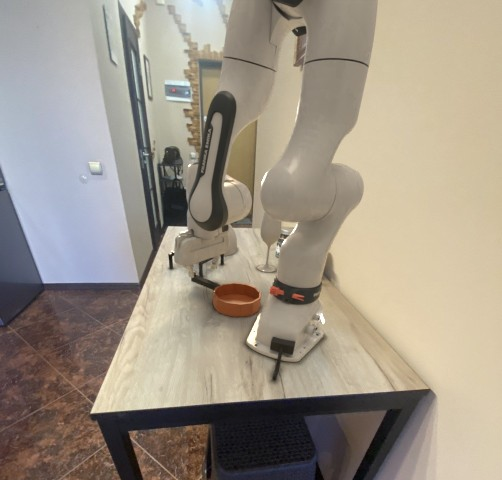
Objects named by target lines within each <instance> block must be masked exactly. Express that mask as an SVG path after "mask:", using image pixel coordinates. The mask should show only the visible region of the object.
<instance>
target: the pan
mask: <svg viewBox="0 0 502 480" xmlns="http://www.w3.org/2000/svg"><path fill="white" fill-rule="evenodd" d="M190 282H192V283H195V284H197V285H200V286H203V287H204V288H207V289H209V290H212V305H213V308H214V309H215V310H216V311H217V312H218V313H219V314H222V315H225V316H228V317H236V318H244V317H249V316H253V315H254V314H256V313H258V312H259V310H260V308H261V301H262V292H261V290H259V289H258V288H257V287H256V286H253V285H250V284H247V283H243V282H228V283H222V284H220V283H217V282H216V281H213V280H210V279H207V278H205V277H204V276H203V277H200V276H199V274H198V275H197V274H196V277H193V278H191V277H190Z"/></svg>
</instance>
